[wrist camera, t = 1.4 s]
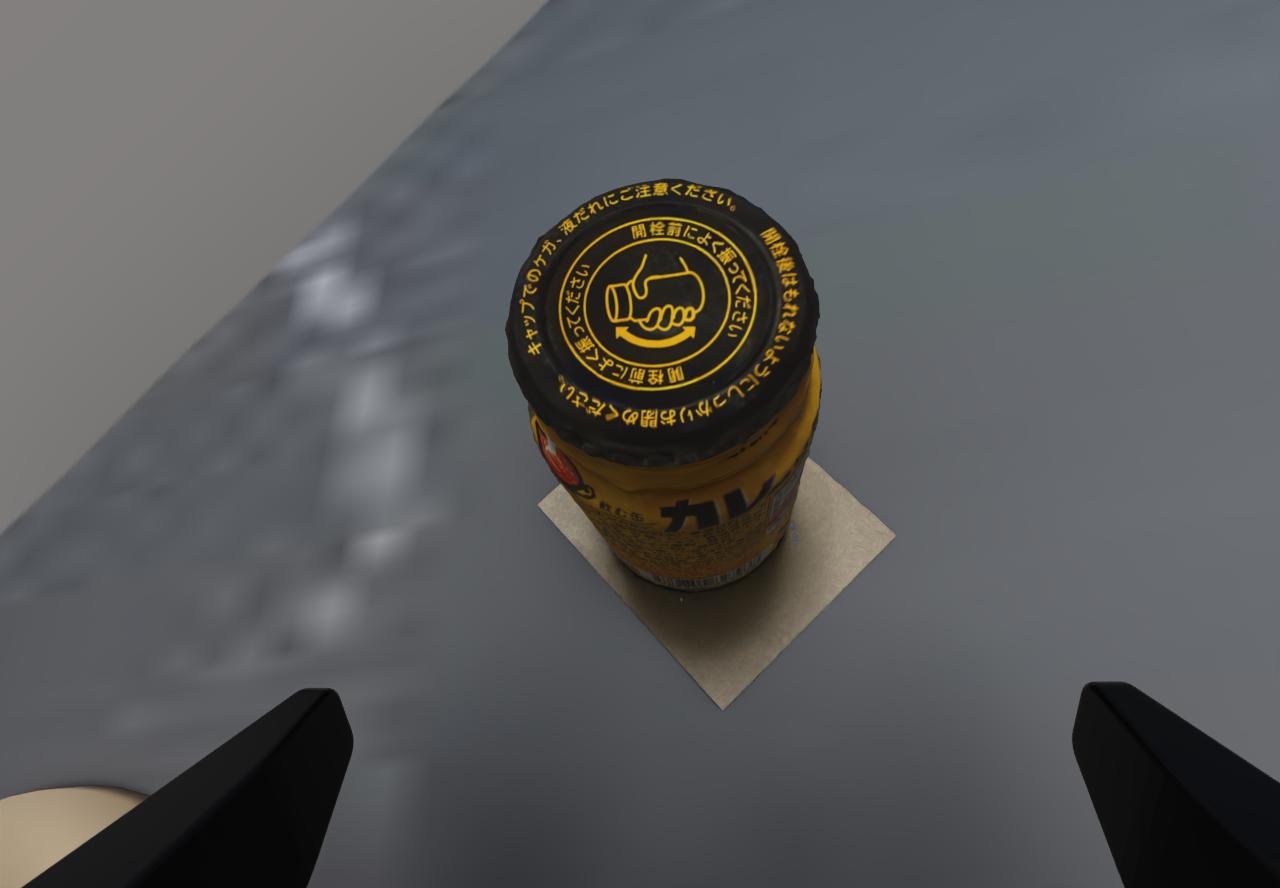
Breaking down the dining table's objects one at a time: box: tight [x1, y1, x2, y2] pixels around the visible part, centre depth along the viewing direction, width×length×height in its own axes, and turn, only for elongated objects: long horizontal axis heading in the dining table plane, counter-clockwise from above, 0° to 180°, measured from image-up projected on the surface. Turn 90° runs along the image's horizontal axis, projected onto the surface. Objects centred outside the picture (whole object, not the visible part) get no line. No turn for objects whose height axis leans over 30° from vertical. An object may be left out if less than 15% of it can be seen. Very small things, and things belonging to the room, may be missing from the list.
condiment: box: [505, 179, 896, 711], centre depth 17 cm, size 7×8×12 cm
